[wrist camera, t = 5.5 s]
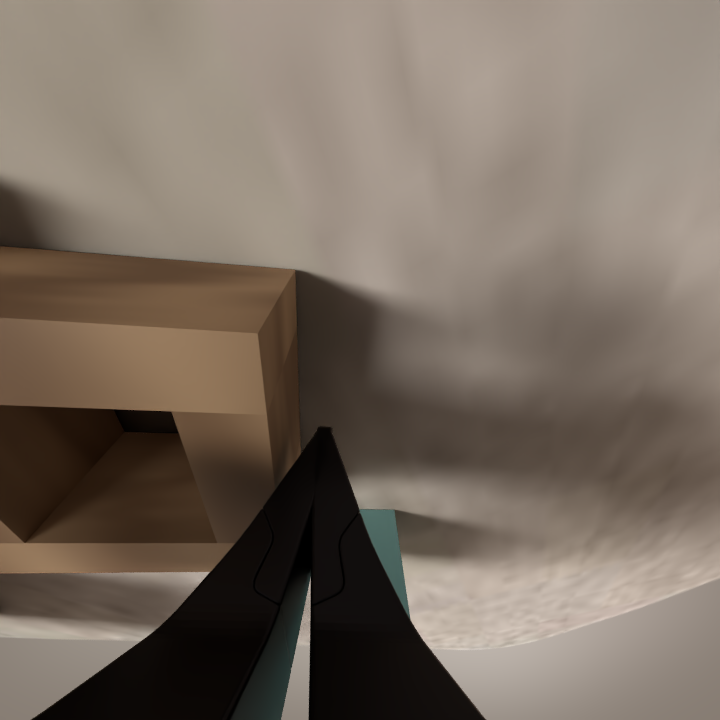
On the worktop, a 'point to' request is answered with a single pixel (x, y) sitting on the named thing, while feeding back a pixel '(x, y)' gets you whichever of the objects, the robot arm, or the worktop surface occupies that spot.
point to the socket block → (140, 408)
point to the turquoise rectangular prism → (387, 547)
